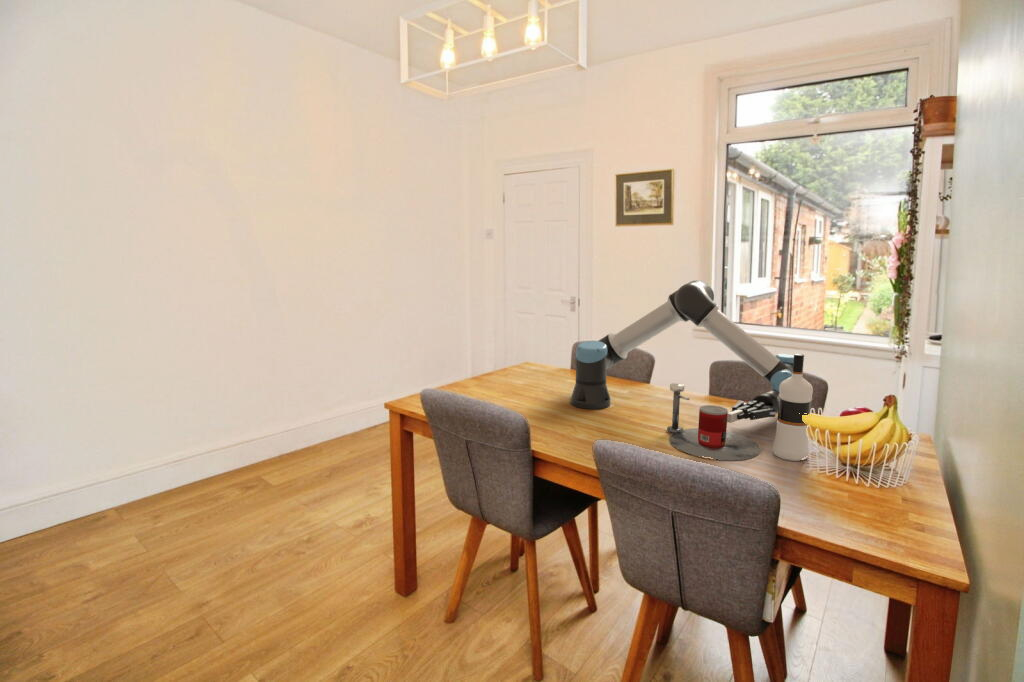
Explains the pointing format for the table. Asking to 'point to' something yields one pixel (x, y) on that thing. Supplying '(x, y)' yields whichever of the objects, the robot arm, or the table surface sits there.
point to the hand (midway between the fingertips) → (728, 418)
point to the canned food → (712, 426)
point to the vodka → (793, 414)
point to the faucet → (676, 407)
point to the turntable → (731, 451)
